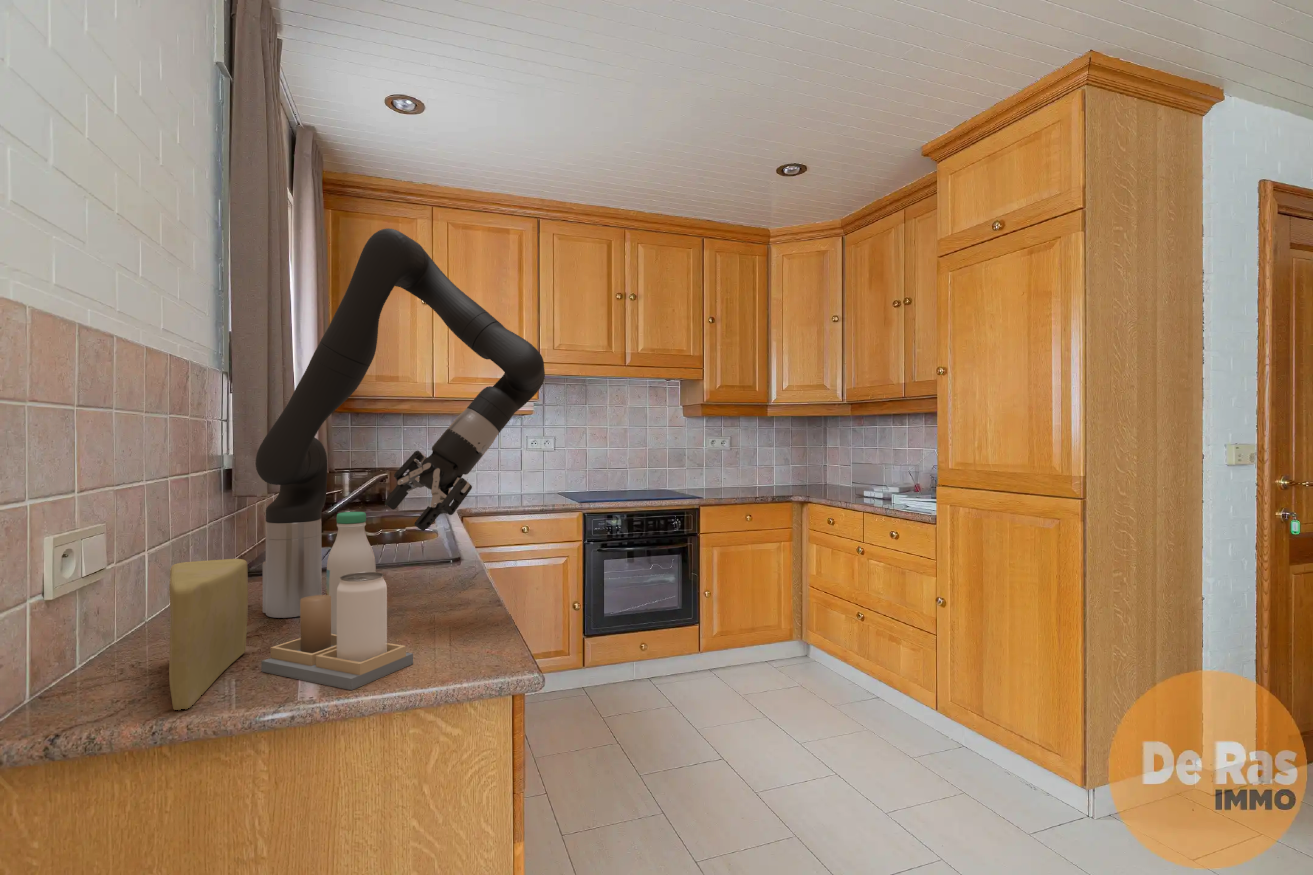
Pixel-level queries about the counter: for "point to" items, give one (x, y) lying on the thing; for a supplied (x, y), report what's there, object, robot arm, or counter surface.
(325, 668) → the socket board
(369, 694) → the counter surface
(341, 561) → the milk bottle
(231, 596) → the cheese
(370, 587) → the can
